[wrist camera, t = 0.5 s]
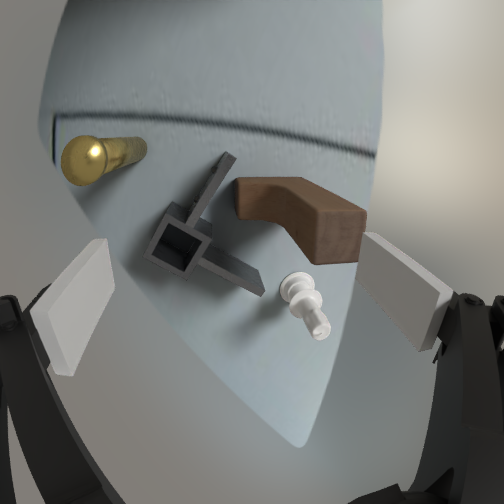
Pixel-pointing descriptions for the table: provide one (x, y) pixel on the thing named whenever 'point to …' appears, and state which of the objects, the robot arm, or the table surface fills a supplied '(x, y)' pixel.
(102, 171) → the hinge pin
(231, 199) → the table surface
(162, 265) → the square tube bracket
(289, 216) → the wooden block
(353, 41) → the table surface
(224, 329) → the table surface
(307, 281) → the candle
